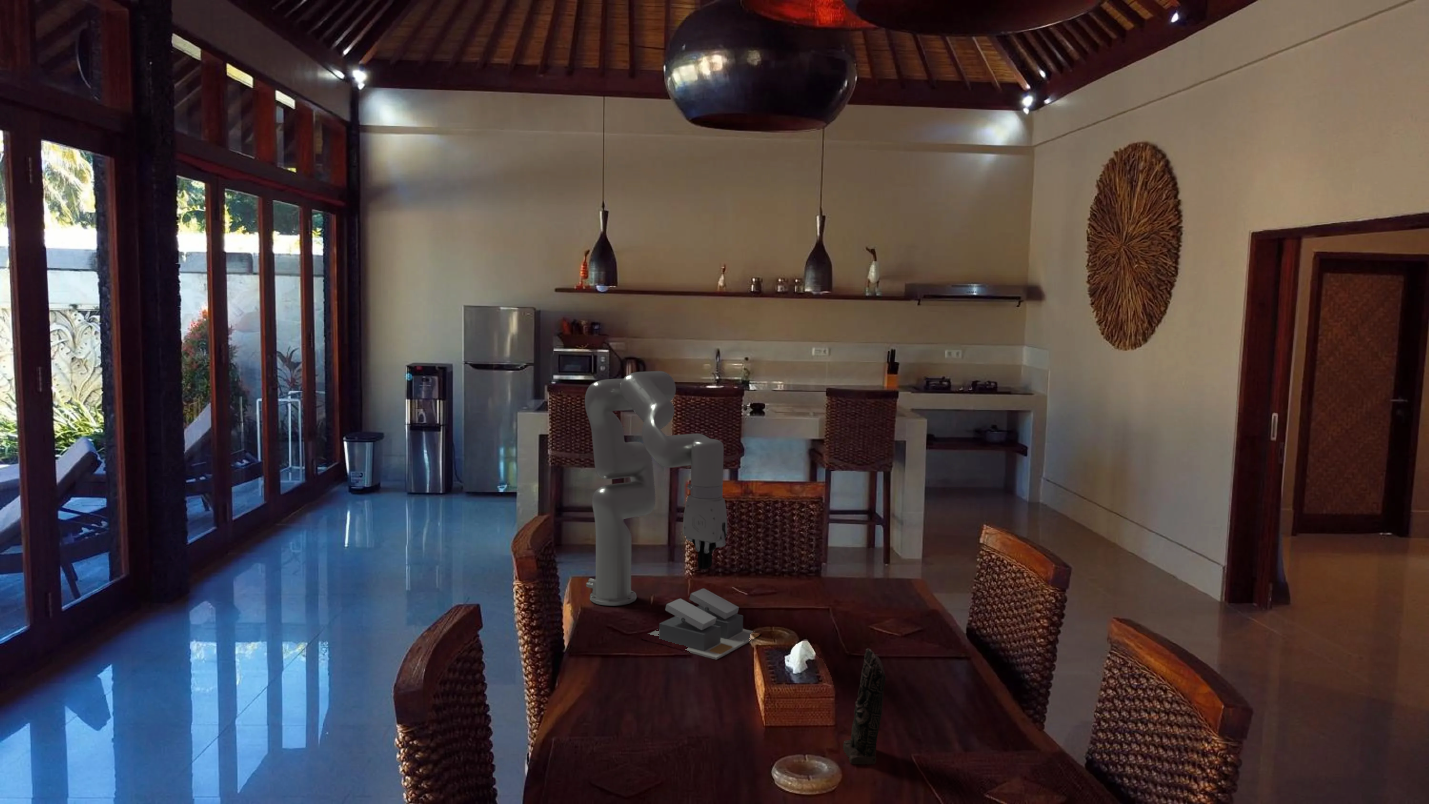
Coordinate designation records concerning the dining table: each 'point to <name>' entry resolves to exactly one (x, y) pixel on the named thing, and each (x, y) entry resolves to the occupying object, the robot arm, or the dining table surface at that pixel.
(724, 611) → the switch
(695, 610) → the switch
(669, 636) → the switch board
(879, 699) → the statue
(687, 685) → the dining table surface
